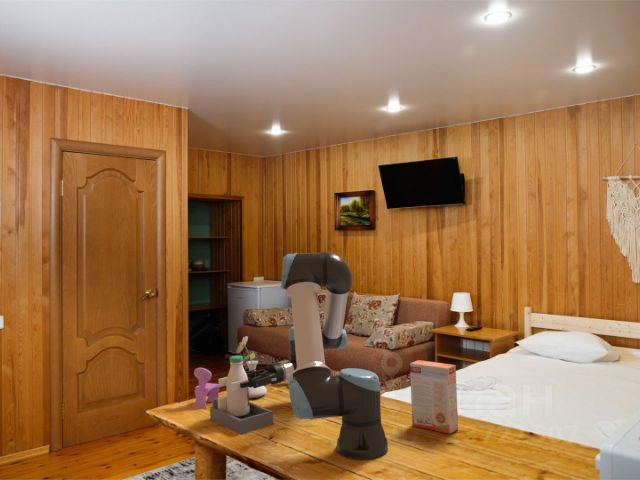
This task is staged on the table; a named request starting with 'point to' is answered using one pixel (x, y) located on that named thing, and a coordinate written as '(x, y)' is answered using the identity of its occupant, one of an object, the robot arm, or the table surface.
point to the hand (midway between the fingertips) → (225, 385)
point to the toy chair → (204, 388)
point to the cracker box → (434, 396)
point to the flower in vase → (252, 365)
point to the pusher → (222, 404)
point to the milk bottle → (238, 398)
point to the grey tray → (242, 418)
